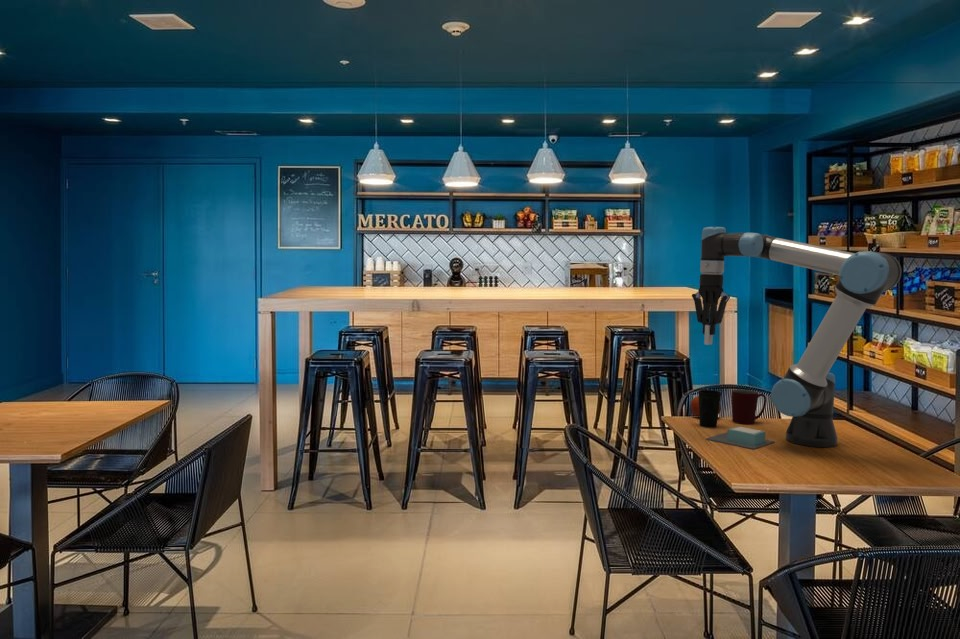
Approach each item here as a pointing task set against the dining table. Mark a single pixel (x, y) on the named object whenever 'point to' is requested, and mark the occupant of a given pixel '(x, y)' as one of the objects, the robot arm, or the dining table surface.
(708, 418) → the cup
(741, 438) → the card box
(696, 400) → the fruit
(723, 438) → the mat
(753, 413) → the mug
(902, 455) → the dining table surface
